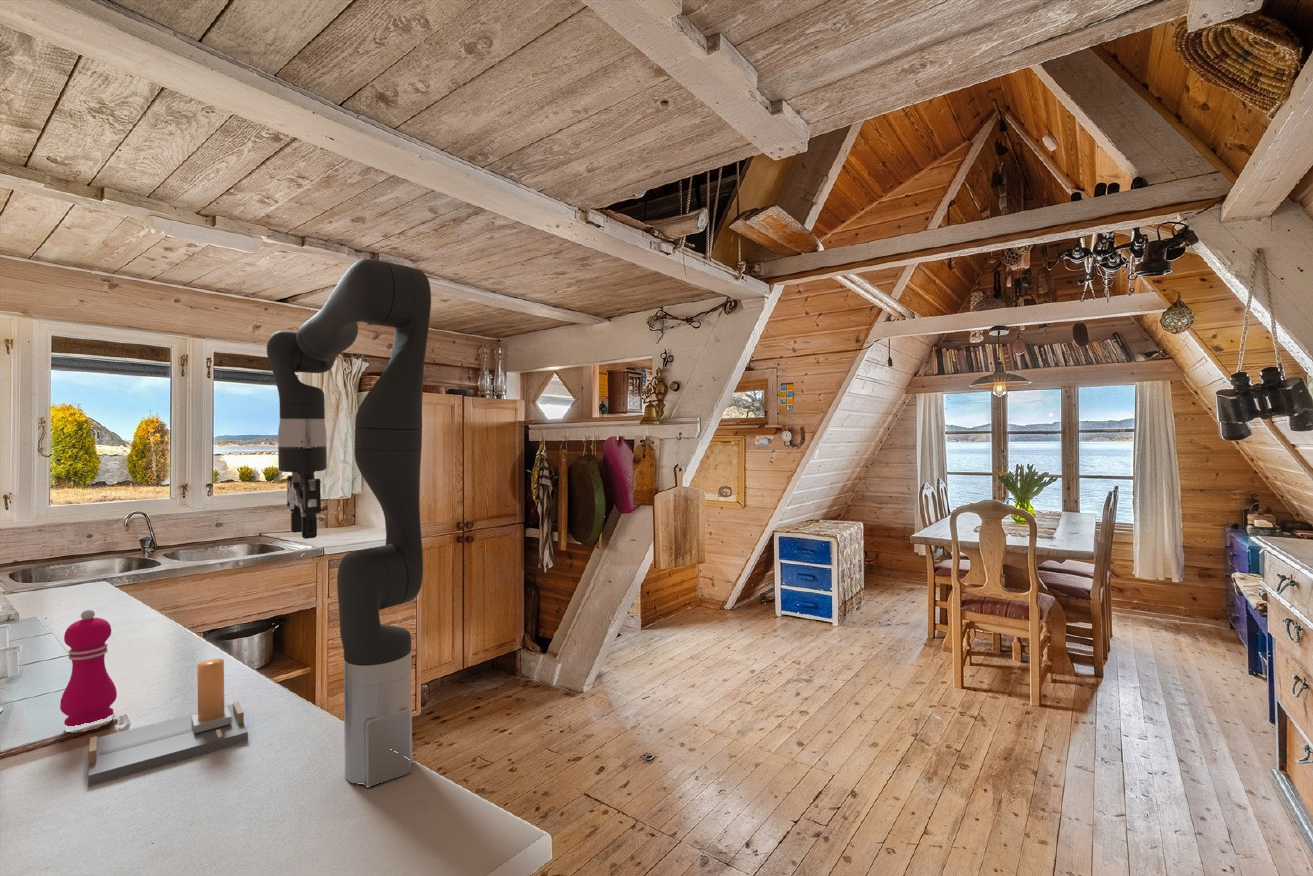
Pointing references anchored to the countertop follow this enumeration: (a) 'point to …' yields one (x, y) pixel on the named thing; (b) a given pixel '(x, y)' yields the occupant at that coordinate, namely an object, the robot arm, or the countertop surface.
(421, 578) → the robot arm
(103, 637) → the pepper mill
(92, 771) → the fader track
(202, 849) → the countertop surface
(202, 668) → the fader
